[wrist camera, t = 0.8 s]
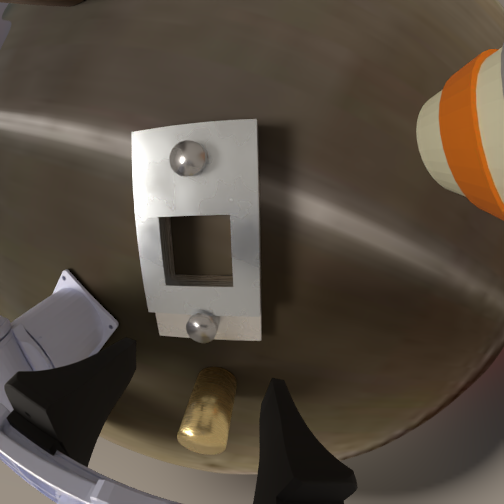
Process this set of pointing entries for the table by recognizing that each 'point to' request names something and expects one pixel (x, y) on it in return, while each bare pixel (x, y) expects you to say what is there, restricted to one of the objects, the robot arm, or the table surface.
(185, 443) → the brass pin
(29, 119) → the table surface
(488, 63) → the reusable coffee cup
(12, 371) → the robot arm
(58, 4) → the plant pot
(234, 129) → the square-hole plate
